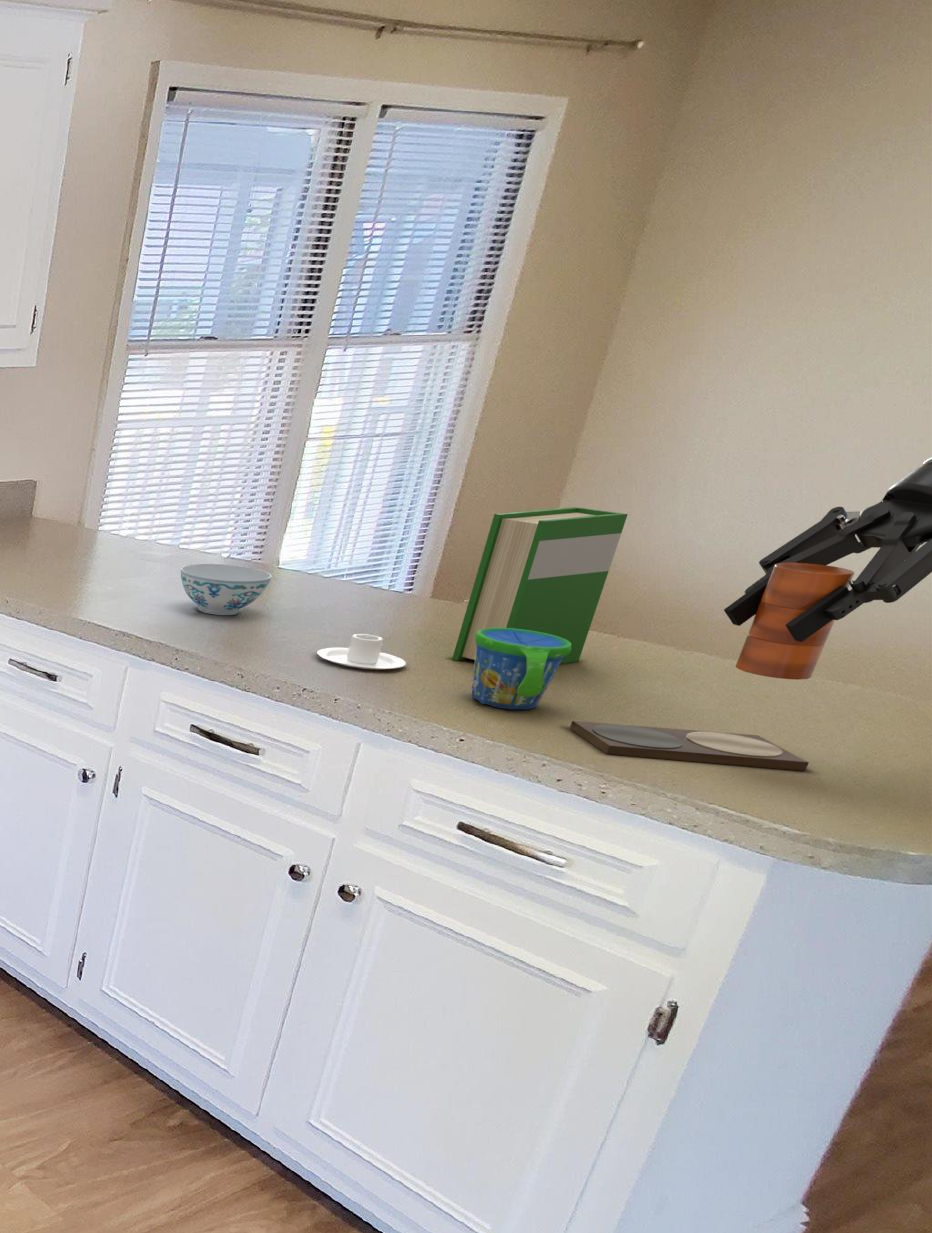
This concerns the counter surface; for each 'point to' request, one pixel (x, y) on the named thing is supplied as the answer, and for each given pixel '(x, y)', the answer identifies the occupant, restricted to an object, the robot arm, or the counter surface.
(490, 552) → the hardback book
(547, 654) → the snack cup
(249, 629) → the counter surface
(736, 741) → the board
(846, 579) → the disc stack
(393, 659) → the candle holder
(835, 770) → the counter surface
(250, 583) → the chinaware
